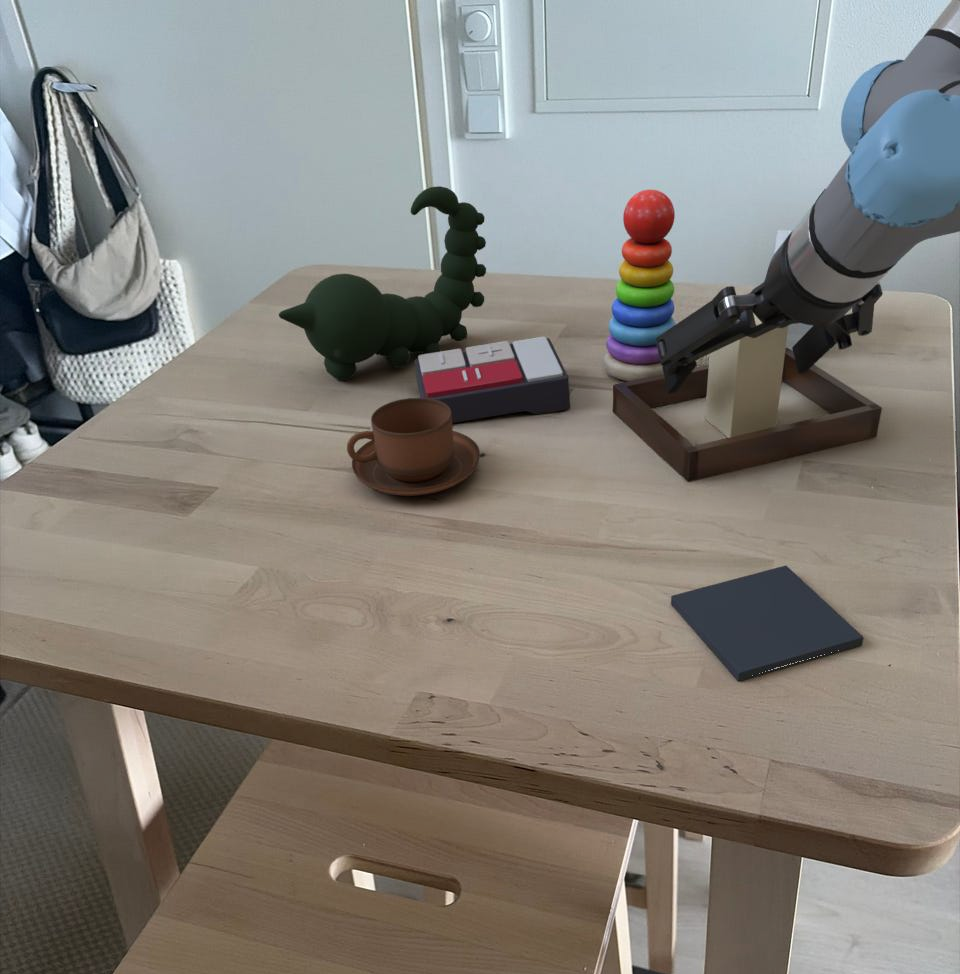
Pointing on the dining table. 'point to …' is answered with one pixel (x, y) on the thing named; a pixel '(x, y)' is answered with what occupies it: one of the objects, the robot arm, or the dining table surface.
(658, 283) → the stacking toy
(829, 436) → the wooden frame
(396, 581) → the dining table surface
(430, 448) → the cup and saucer
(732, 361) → the block
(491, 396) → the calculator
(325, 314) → the toy figurine
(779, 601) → the mat
